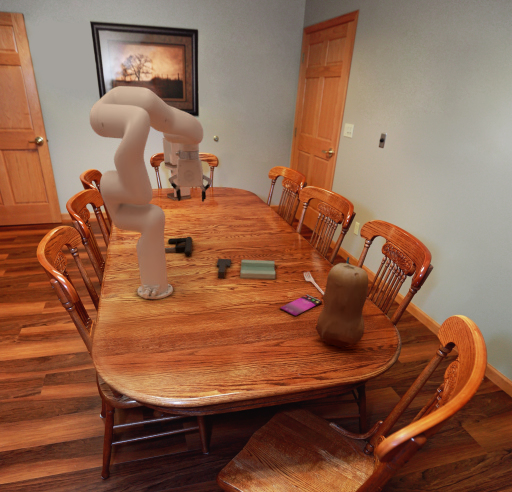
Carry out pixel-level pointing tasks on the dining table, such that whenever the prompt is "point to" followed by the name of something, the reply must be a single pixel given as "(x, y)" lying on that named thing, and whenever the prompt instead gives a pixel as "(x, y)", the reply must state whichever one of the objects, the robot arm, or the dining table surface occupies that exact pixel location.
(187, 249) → the submachine gun
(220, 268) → the spatula
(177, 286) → the dining table surface
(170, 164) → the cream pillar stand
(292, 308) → the smartphone
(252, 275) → the spoon rest
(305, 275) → the fork
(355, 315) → the butternut squash
